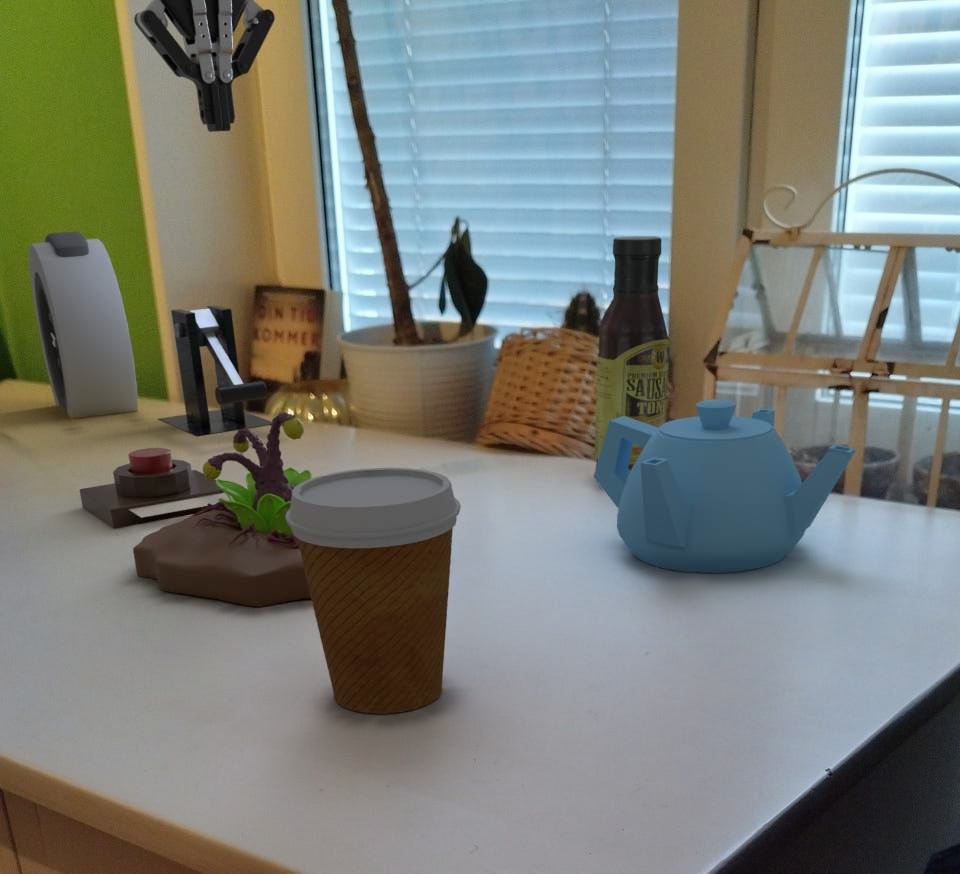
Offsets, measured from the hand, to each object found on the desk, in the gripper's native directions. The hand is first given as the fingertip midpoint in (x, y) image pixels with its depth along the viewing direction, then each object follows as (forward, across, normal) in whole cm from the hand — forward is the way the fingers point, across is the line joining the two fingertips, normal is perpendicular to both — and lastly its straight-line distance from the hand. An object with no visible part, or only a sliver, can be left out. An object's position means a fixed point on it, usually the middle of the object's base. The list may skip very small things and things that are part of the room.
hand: (219, 131), depth 121 cm
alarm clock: (+29, +7, -32) cm, 44 cm away
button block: (+29, +16, +15) cm, 36 cm away
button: (+26, +16, +15) cm, 34 cm away
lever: (+22, 0, -8) cm, 23 cm away
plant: (+29, +14, +38) cm, 50 cm away
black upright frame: (+29, 0, -11) cm, 31 cm away
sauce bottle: (+29, -22, +34) cm, 50 cm away
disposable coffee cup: (+29, +20, +66) cm, 75 cm away
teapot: (+29, -13, +56) cm, 64 cm away
